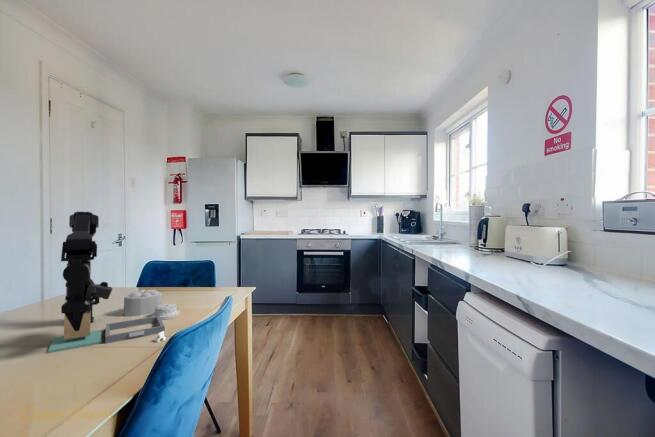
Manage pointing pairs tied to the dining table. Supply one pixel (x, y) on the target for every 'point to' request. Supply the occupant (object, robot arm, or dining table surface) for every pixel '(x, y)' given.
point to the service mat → (75, 341)
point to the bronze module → (84, 327)
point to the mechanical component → (166, 311)
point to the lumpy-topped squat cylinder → (142, 302)
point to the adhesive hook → (160, 337)
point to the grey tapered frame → (137, 332)
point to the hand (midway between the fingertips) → (77, 328)
